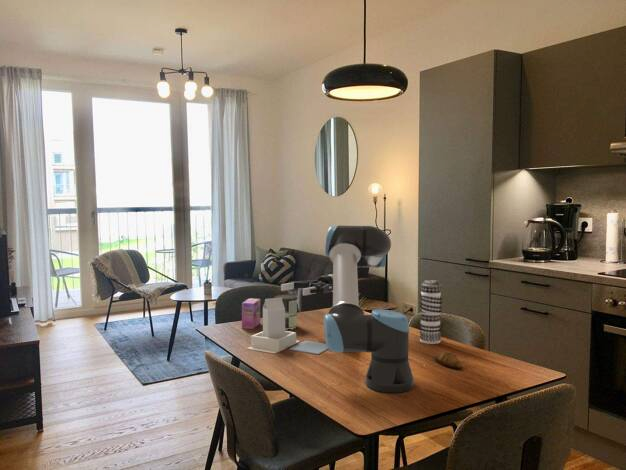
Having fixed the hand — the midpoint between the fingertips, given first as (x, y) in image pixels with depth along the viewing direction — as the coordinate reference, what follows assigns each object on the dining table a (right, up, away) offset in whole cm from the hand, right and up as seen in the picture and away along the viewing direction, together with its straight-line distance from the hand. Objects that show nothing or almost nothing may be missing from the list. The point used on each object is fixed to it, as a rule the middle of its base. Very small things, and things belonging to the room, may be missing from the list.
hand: (292, 289), depth 216 cm
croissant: (+56, -24, -29) cm, 68 cm away
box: (-20, -20, +26) cm, 38 cm away
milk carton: (-7, -22, -5) cm, 23 cm away
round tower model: (+57, -21, +1) cm, 61 cm away
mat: (+8, -22, -9) cm, 25 cm away
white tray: (-7, -22, -5) cm, 23 cm away
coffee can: (-4, -20, +24) cm, 31 cm away
